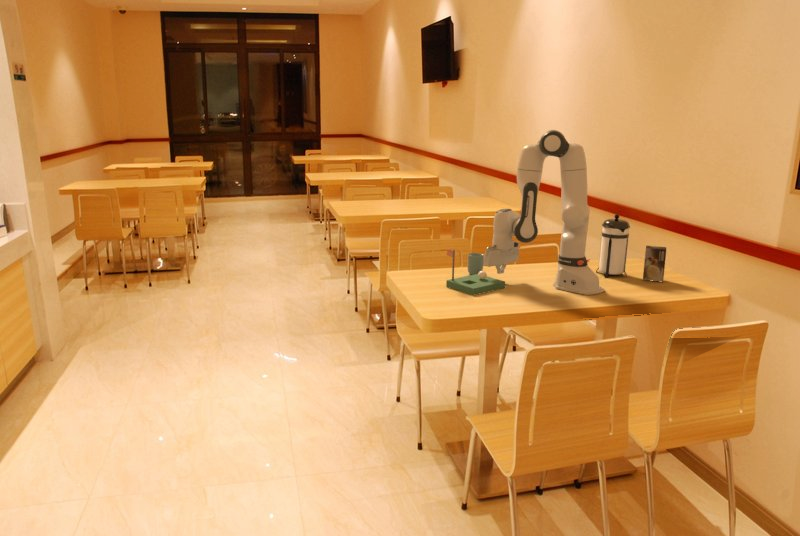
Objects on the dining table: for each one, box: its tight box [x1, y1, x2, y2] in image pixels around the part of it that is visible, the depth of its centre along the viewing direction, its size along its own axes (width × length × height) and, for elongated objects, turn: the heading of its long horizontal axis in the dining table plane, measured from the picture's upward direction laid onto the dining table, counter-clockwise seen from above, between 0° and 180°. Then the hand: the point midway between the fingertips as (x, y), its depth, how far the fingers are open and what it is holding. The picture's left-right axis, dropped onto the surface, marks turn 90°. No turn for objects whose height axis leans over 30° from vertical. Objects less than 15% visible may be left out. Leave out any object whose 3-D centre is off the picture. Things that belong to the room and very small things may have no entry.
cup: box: [466, 252, 485, 275], centre depth 299 cm, size 8×8×10 cm
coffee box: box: [642, 245, 667, 282], centre depth 292 cm, size 9×6×16 cm
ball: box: [478, 270, 487, 280], centre depth 279 cm, size 4×4×4 cm
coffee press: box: [595, 214, 631, 279], centre depth 301 cm, size 17×16×30 cm
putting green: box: [445, 248, 506, 296], centre depth 277 cm, size 19×20×17 cm
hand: (500, 273), depth 287 cm, fingers closed
